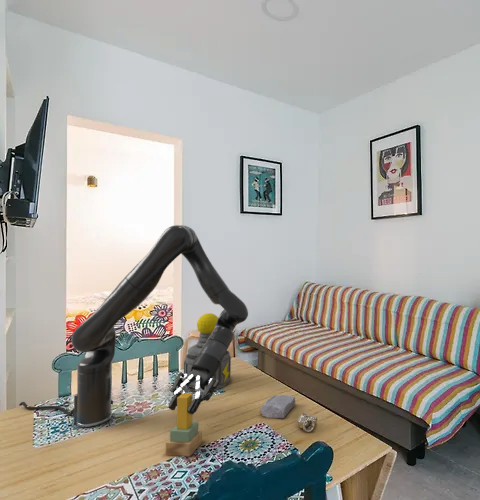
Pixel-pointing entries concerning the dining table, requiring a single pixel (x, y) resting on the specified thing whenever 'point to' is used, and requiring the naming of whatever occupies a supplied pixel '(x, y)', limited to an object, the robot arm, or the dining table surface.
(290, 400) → the stone block
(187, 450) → the tower base
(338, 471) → the dining table surface
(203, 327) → the decorative lamp
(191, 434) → the block
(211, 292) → the robot arm
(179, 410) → the bar
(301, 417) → the ornament
